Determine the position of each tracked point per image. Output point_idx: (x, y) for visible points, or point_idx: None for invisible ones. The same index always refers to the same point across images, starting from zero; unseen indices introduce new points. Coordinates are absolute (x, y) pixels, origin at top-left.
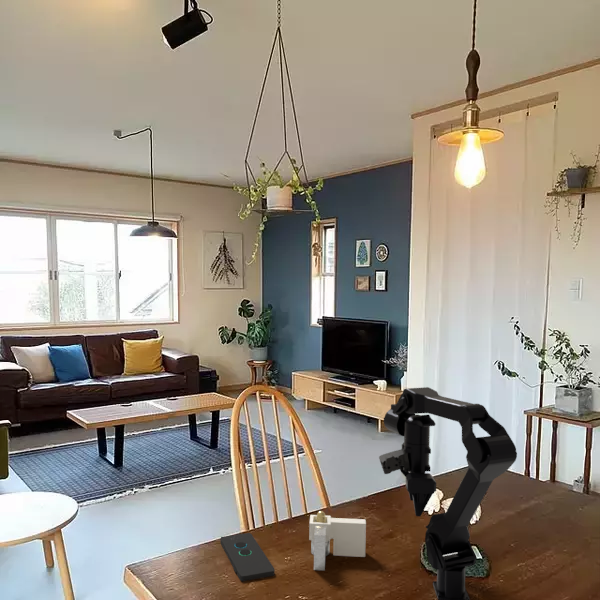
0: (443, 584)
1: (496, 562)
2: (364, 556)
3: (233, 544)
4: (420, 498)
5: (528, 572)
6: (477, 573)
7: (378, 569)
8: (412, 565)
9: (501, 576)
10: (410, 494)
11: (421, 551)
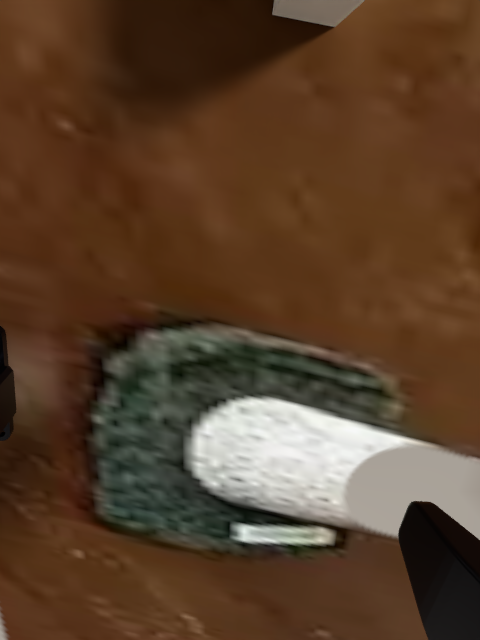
0: None
1: (202, 570)
2: (273, 8)
3: None
4: None
5: (137, 627)
6: (119, 501)
7: (123, 71)
8: (174, 275)
9: (104, 560)
10: (450, 565)
11: (307, 348)
